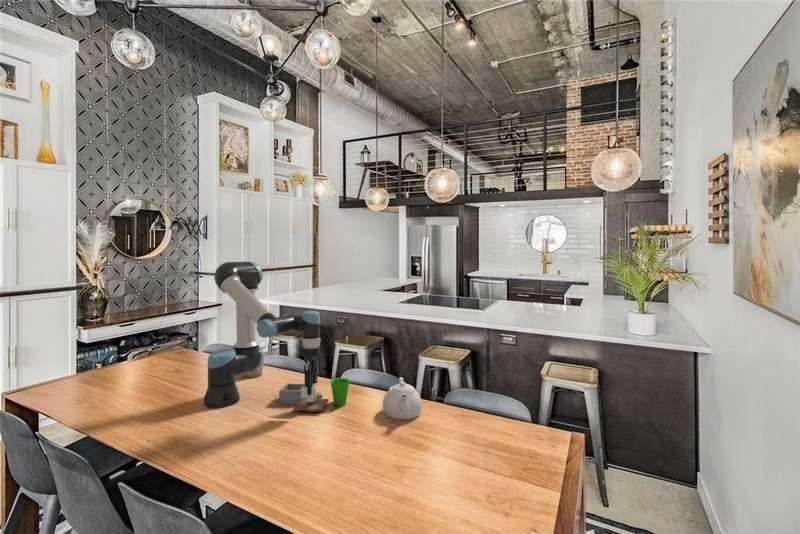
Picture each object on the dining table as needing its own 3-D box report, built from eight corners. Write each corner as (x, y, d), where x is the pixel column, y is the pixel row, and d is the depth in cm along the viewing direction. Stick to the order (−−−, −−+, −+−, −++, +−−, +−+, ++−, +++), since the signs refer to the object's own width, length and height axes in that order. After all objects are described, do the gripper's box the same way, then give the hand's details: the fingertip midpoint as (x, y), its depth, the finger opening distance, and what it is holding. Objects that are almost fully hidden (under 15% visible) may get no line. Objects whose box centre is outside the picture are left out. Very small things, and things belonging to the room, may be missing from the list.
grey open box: (279, 405, 180) (279, 390, 179) (287, 397, 189) (287, 383, 189) (300, 406, 179) (300, 391, 179) (307, 398, 189) (307, 383, 188)
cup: (351, 401, 186) (351, 378, 185) (347, 408, 177) (347, 384, 176) (332, 400, 186) (333, 377, 186) (327, 408, 177) (327, 383, 177)
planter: (259, 379, 217) (259, 360, 217) (236, 378, 218) (236, 359, 217) (267, 372, 230) (267, 354, 230) (245, 371, 230) (245, 354, 230)
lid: (293, 410, 169) (293, 389, 168) (302, 400, 181) (302, 380, 180) (320, 411, 168) (320, 390, 168) (328, 401, 180) (328, 381, 179)
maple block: (313, 404, 182) (313, 395, 182) (312, 401, 186) (313, 392, 186) (322, 403, 183) (322, 394, 183) (321, 400, 187) (321, 392, 187)
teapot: (432, 412, 174) (432, 381, 173) (403, 425, 160) (404, 392, 160) (400, 401, 186) (401, 372, 186) (372, 412, 173) (372, 381, 172)
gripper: (314, 351, 165) (314, 407, 166) (324, 342, 181) (324, 393, 182) (296, 351, 166) (296, 406, 166) (308, 342, 182) (308, 393, 183)
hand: (311, 399), depth 174 cm, fingers closed on lid, 3 cm apart
